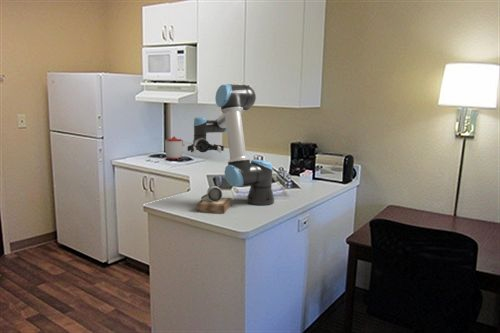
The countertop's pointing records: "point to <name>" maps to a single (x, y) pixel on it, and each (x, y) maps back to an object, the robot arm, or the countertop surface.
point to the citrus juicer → (174, 148)
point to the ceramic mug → (213, 194)
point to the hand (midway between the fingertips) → (208, 150)
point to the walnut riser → (214, 206)
